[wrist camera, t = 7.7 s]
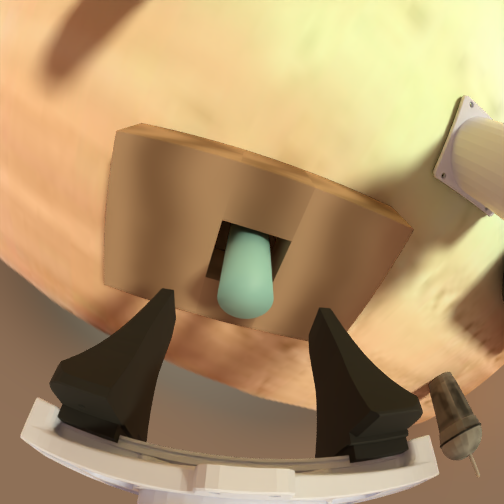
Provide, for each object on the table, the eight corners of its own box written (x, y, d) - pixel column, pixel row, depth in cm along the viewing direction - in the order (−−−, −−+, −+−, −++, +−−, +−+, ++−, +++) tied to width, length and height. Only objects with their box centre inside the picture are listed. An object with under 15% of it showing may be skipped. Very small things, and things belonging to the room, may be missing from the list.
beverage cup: (413, 394, 36) (440, 495, 19) (438, 368, 32) (477, 478, 15) (441, 390, 37) (469, 481, 20) (465, 365, 33) (503, 462, 16)
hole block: (391, 206, 20) (413, 229, 17) (328, 315, 26) (335, 346, 23) (141, 123, 17) (116, 130, 14) (122, 257, 23) (104, 284, 20)
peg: (271, 215, 21) (278, 279, 14) (265, 249, 23) (268, 320, 16) (231, 210, 21) (218, 273, 14) (228, 245, 22) (216, 315, 16)
